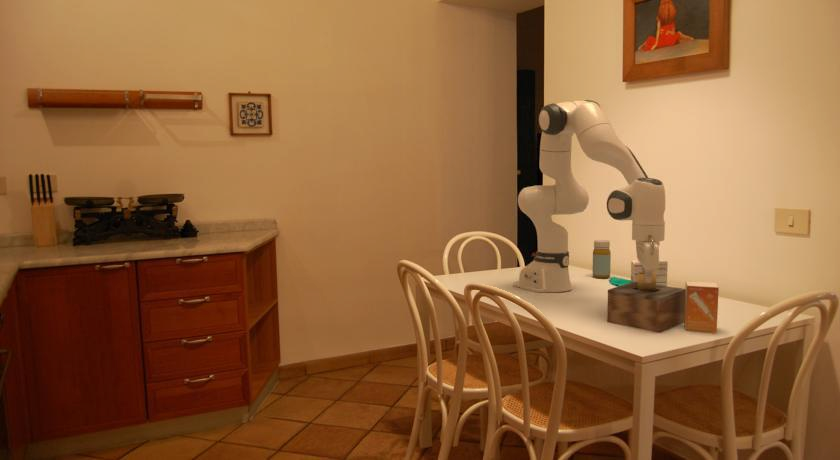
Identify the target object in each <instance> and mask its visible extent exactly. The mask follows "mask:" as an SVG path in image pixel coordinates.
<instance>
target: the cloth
mask: <svg viewBox="0 0 840 460" xmlns="http://www.w3.org/2000/svg"><path fill="white" fill-rule="evenodd" d="M608 282H609V284H610V285H613V286H617V287H618V286H622V285H625V284H628V283H631V279H626V278H622V277H620V278H619V277H616V276H612V277H609V279H608Z"/></svg>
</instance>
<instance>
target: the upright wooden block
mask: <svg viewBox="0 0 840 460" xmlns="http://www.w3.org/2000/svg"><path fill="white" fill-rule="evenodd" d="M638 290H643V291H656V272H653V274H652V282H651V283H646V282H645V272H638Z"/></svg>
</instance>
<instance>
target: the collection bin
mask: <svg viewBox="0 0 840 460" xmlns="http://www.w3.org/2000/svg"><path fill="white" fill-rule="evenodd" d="M606 309H607V310H606V312H607V314H606V317H607V318H606V320H607V323H610V324H611V323H612V324H615V325H621V326H626V327H630V328H635V329H639V330H645V331H648V332H655V333H659V334H660V333H663V332H665V331H668V330H671V329H672V328H675V327H677V326H680V325H681V324H684V312H685V288H680V287H675V286H668V285H667V286H662V285H656V291H643V290H638V282H632V283H628V284H625V285H622V286H618V285H617V286H615V287H612V288H609V289H607V308H606Z"/></svg>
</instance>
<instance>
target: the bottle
mask: <svg viewBox="0 0 840 460" xmlns="http://www.w3.org/2000/svg"><path fill="white" fill-rule="evenodd" d="M610 241H611V240H606V239H596V240H594V241H593V250H592V277H594V278H596V279H608V278H609V279H610V278H611V277H610V276H611V257H612V256H611V250H610V249H611V247H610V245H611V243H610Z"/></svg>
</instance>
